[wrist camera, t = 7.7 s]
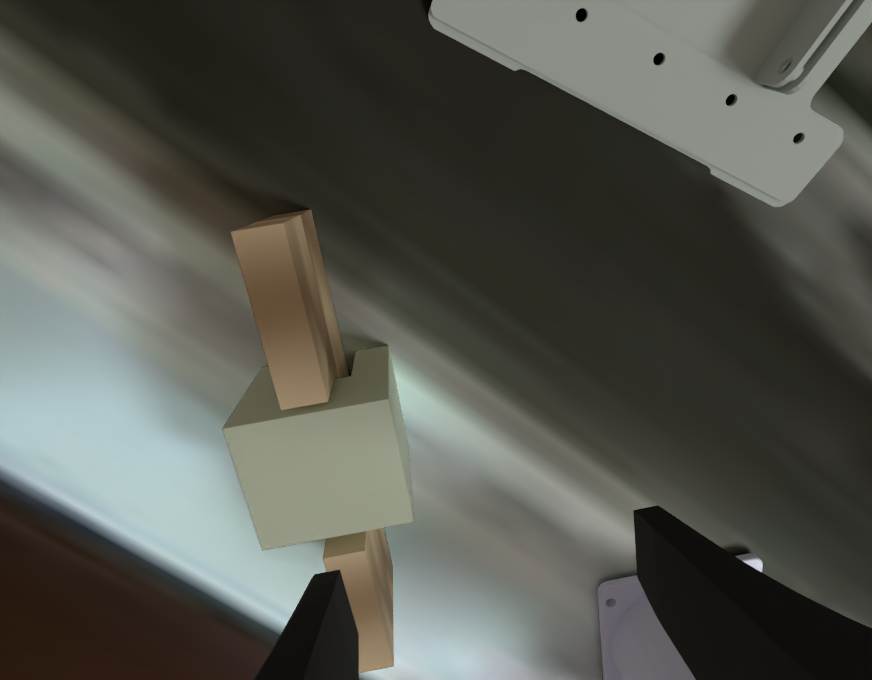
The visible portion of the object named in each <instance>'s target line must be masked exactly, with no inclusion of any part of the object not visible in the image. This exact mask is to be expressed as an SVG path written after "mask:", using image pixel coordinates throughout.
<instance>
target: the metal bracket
mask: <svg viewBox="0 0 872 680" xmlns="http://www.w3.org/2000/svg"><path fill="white" fill-rule="evenodd" d="M581 8H584V9H585V10H586V13H587V15H586V18H585V19H584V21H582V22H578V21H577V20H576V12H577V11H578V10H579V9H581ZM428 17H429V21H430V23H431V25H432V26H433V28H434V29H436V30H438V31H440V32H442V33H443V34H445V35H447V36H449V37H451V38H453V39H455V40H457V41H459V42H461V43H463V44H464V45H466V46H468V47H470V48H472V49H474V50H476V51H478V52H480V53H482V54H483V55H485V56H487V57H489V58H491V59H493V60H495V61H497V62H499V63H501V64H503V65H504V66H506V67H508V68H510V69H512V70H514V71H516V70H518V69H523V70H526V71H528V72H530V73H532V74H534V75H536V76H538V77H540V78H542V79H543V80H545V81H547V82H549V83H551V84H553V85H555V86H557V87H559V88H560V89H562V90H564V91H566V92H568V93H570V94H572V95H574V96H576V97H578V98H579V99H581V100H583V101H585V102H587V103H589V104H591V105H593V106H595V107H596V108H598V109H600V110H602V111H604V112H606V113H608V114H610V115H612V116H613V117H615V118H617V119H619V120H621V121H623V122H625V123H627V124H629V125H630V126H632V127H634V128H636V129H638V130H640V131H642V132H644V133H646V134H648V135H649V136H651V137H653V138H655V139H657V140H659V141H661V142H663V143H665V144H666V145H668V146H670V147H672V148H674V149H676V150H678V151H680V152H682V153H683V154H685V155H687V156H689V157H691V158H693V159H695V160H697V161H699V162H700V163H702V164H704V165H706V166H707V167H708V168H709V169H710V172H711V174H712V175H714V176H716V177H718V178H720V179H722V180H723V181H725V182H727V183H729V184H731V185H733V186H735V187H737V188H739V189H741V190H742V191H744V192H746V193H748V194H750V195H752V196H754V197H756V198H758V199H760V200H762V201H763V202H765V203H767V204H769V205H771V206H773V207H780V206H783V205H785V204H786V203H788V202H791V201H792V200H794V199H795V198H796V197H797V196H798V194H799V193H800V192H801V191H802V190H803V189H804V187H805V186H806V185H807V184H808V183H809V182H810V180H811V179H812V178H813V177H814V176H815V175H816V173H817V172H818V171H819V170H820V169H821V168H822V166H823V165H824V164H825V163H826V162H827V161H828V159H829V158H830V157H831V156H832V155H833V154H834V152H835V151H836V150H837V149H838V148H839V147H840V145H841V144H842V142H843V129H842V128H841V127H840V126H838V125H836V124H835V123H833V122H831V121H830V120H828V119H826V118H824V117H823V116H821V115H819V114H818V113H816V112H814V111H813V110H812V109H811V107H810V102H811V100H812V98H813V96H814V95H815V93H816V92H817V91H818V90H819V88H820V87H821V86H822V85H823V83H824V82H825V81H826V79H827V78H828V77H829V76H830V74H831V73H832V72H833V71H834V69H835V68H836V67H837V66H838V64H839V63H840V62H841V60H842V59H843V58H844V57H845V55H846V54H847V53H848V52H849V50H850V49H851V48H852V46H853V45H854V44H855V43H856V41H857V40H858V39H859V38H860V36H861V35H862V34H863V32H864V31H865V30H866V29H867V27H868V26H869V25H870V24H871V22H872V0H433V1H432V3H431V7H430V9H429V14H428ZM657 53H662V54H663V61H662V62H661V63H660V64H659V65H655V64H654V62H653V59H654V56H655V55H656V54H657ZM731 94H734V95H735V100H734V102H733V103H732V104H731V105H726V99H727V97H728V96H729V95H731ZM798 133H801V134H802V137H801V139H800V140H799V141H798V142H796V143H794V142H793V138H794V136H795V135H796V134H798Z"/></svg>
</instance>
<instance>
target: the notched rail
mask: <svg viewBox="0 0 872 680" xmlns="http://www.w3.org/2000/svg"><path fill="white" fill-rule="evenodd" d="M231 235H232V239H233V242H234V246H235V250H236V253H237V257H238V260H239V264H240V267H241V271H242V274H243V278H244V281H245V285H246V288H247V292H248V295H249V299H250V303H251V306H252V310H253V313H254V317H255V320H256V324H257V327H258V331H259V334H260V338H261V341H262V345H263V349H264V352H265V356H266V359H267V363H268V366H269V370H270V373H271V377H272V380H273V384H274V387H275V391H276V394H277V398H278V402H279V405H280V409H281V410H285V409H290V408H296V407H302V406H307V405H313V404H318V403H324V402H328V400H329V396H330V392H331V388H332V385H333V381H334V379H339V378H344V377H349V373H348V369H347V364H346V360H345V356H344V351H343V347H342V343H341V338H340V334H339V330H338V325H337V321H336V316H335V312H334V308H333V303H332V299H331V295H330V290H329V286H328V282H327V277H326V273H325V268H324V264H323V260H322V255H321V251H320V247H319V242H318V238H317V234H316V229H315V225H314V220H313V216H312V212H311V210H305V211H299V212H293V213H287V214H281V215H275V216H270V217H268V218H265V219H263V220H260V221H258V222H255V223H252V224H250V225H247V226H245V227H242V228H239V229H237V230H234V231H232V232H231ZM323 561H324V564H325V568H326V571H327V572H329V571H334V570H339V569H340V572H341V575H342V579H343V582H344V585H345V589H346V592H347V596H348V599H349V603H350V606H351V610H352V613H353V616H354V620H355V623H356V627H357V630H358V634H359V673H363V672H368V671H373V670H378V669H383V668H388V667H393V666H394V654H393V565H392V561H391V557H390V552H389V548H388V543H387V539H386V535H385V530H384V528H379V529H374V530H369V531H363V532H358V533H353V534H348V535H342V536H337V537H332V538H326V544H325V549H324V555H323Z"/></svg>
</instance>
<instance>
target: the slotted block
mask: <svg viewBox="0 0 872 680" xmlns="http://www.w3.org/2000/svg"><path fill="white" fill-rule="evenodd" d="M222 430H223V433H224V436H225V440H226V443H227V446H228V449H229V452H230V455H231V458H232V461H233V464H234V467H235V470H236V473H237V476H238V479H239V482H240V485H241V488H242V491H243V494H244V497H245V500H246V503H247V506H248V509H249V512H250V515H251V518H252V522H253V525H254V528H255V531H256V534H257V537H258V540H259V543H260V546H261V549H262V551H263V550H268V549H273V548H279V547H284V546H289V545H294V544H300V543H305V542H310V541H316V540H321V539H326V538H332V537H337V536H342V535H348V534H353V533H358V532H363V531H369V530H374V529H379V528H385V527H390V526H395V525H401V524H406V523H411V522H414V518H413V504H412V490H411V476H410V462H409V448H408V441H407V436H406V431H405V426H404V421H403V416H402V410H401V405H400V400H399V395H398V390H397V385H396V380H395V375H394V370H393V365H392V360H391V355H390V350H389V345H387V346H382V347H376V348H370V349H365V350H359V351H356V353H355V358H354V364H353V369H352V374H351V376H350V377H344V378H339V379H334V381H333V385H332V388H331V392H330V396H329V400H328V402H324V403H318V404H313V405H307V406H302V407H296V408H290V409H285V410H281V409H280V405H279V402H278V398H277V394H276V391H275V387H274V384H273V380H272V377H271V373H270V370H269V366H268V367H263V368H261V369H260V371H259V373H258V374H257V376H256V377H255V379H254V380H253V382H252V383H251V385H250V386H249V388H248V390H247V391H246V393H245V394H244V396H243V397H242V399H241V400H240V402H239V404H238V405H237V407H236V408H235V410H234V411H233V413H232V414H231V416H230V417H229V419H228V421H227V422H226V424H225V425H224V427H223V428H222Z"/></svg>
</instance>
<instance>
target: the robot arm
mask: <svg viewBox="0 0 872 680" xmlns="http://www.w3.org/2000/svg"><path fill="white" fill-rule="evenodd" d="M634 527H635V544H636V562H637V575H635V576H630V577H625V578H620V579H615V580H609V581H605V582H603V583H602V584H600V586H599V587H598V591H597V592H598V607H599V622H600V636H601V651H602V666H603V680H872V628H869V627H867V626H865V625H863V624H860V623H858V622H856V621H854V620H852V619H849V618H847V617H845V616H843V615H841V614H839V613H837V612H835V611H833V610H831V609H829V608H827V607H825V606H823V605H821V604H819V603H817V602H815V601H813V600H811V599H809V598H807V597H805V596H803V595H801V594H799V593H797V592H795V591H793V590H792V589H790V588H788V587H786V586H784V585H783V584H781V583H779V582H777V581H776V580H774V579H772V578H770V577H769V576H767V575H765V574H763V573H762V565H763V564H762V561H761V560H760V558H759V557H758V556H757V555H756V554H753V553H748V554H743V555H738V556H734V555H732V554H730V553H729V552H727V551H726V550H724V549H723V548H721V547H719V546H718V545H716V544H715V543H713V542H712V541H710V540H709V539H707V538H706V537H704V536H703V535H701V534H700V533H698V532H697V531H695V530H694V529H692V528H691V527H689V526H688V525H686V524H685V523H683V522H682V521H680V520H679V519H677V518H676V517H675V516H673V515H672V514H670V513H669V512H667V511H666V510H664V509H663V508H661V507H660V506H653V507H648V508H643V509H638V510H634ZM609 599H611V600H609ZM607 600H608V601H607ZM253 680H359V634H358V630H357V627H356V623H355V620H354V616H353V613H352V610H351V606H350V603H349V599H348V596H347V592H346V589H345V585H344V582H343V579H342V575H341V572H340V569H339V570H334V571H329V572H325V573H320V574H315V575H314V576H313V578H312V579H311V581H310V582H309V584H308V586H307V588H306V590H305V592H304V594H303V596H302V598H301V599H300V601H299V603H298V605H297V607H296V609H295V611H294V612H293V614H292V616H291V618H290V620H289V621H288V623H287V625H286V627H285V628H284V630H283V632H282V634H281V635H280V637H279V639H278V640H277V642H276V644H275V645H274V647H273V649H272V651H271V652H270V654H269V656H268V657H267V659H266V660H265V662H264V664H263V665H262V667H261V668H260V670H259V671H258V673H257V674H256V676H255V678H254V679H253Z"/></svg>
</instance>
